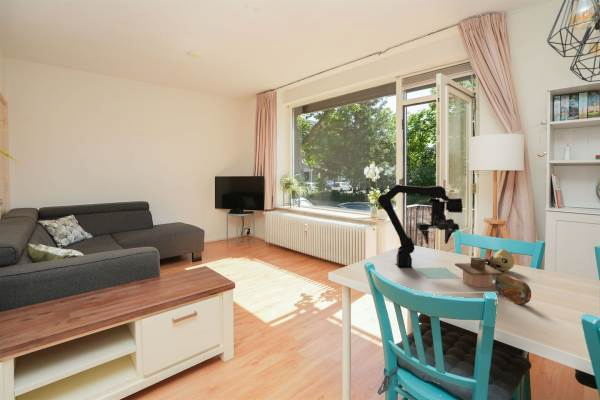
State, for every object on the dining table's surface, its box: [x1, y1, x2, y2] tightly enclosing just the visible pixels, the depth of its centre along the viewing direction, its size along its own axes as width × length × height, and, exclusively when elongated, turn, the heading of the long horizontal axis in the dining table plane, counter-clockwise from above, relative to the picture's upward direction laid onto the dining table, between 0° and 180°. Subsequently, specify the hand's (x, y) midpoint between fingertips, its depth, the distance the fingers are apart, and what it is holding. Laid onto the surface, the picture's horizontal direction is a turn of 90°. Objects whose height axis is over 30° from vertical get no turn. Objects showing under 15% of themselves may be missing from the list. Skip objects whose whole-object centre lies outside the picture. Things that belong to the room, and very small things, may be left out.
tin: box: [494, 273, 532, 305], centre depth 116 cm, size 15×3×8 cm, turn 5°
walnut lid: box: [454, 257, 504, 276], centre depth 132 cm, size 13×13×5 cm
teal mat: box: [415, 267, 462, 280], centre depth 144 cm, size 15×15×1 cm
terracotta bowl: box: [462, 270, 494, 288], centre depth 132 cm, size 11×11×6 cm
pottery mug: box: [482, 258, 497, 270], centre depth 145 cm, size 12×10×8 cm
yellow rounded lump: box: [488, 248, 515, 274], centre depth 147 cm, size 10×12×11 cm
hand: (436, 243), depth 149 cm, fingers open, 9 cm apart
